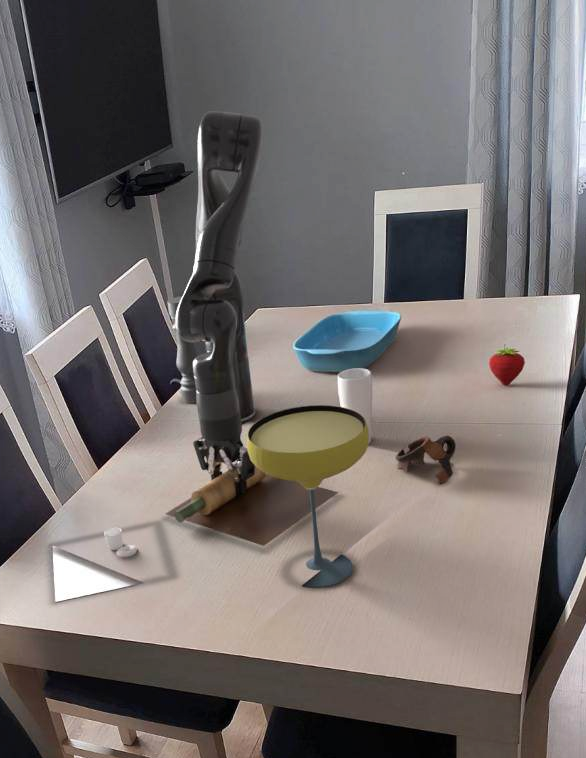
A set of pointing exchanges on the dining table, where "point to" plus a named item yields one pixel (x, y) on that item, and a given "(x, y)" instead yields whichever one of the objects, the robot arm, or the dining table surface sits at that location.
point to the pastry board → (261, 510)
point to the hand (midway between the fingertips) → (230, 493)
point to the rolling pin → (214, 494)
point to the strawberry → (506, 365)
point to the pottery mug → (433, 450)
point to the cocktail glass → (310, 461)
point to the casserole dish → (347, 340)
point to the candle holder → (184, 358)
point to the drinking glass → (356, 392)
